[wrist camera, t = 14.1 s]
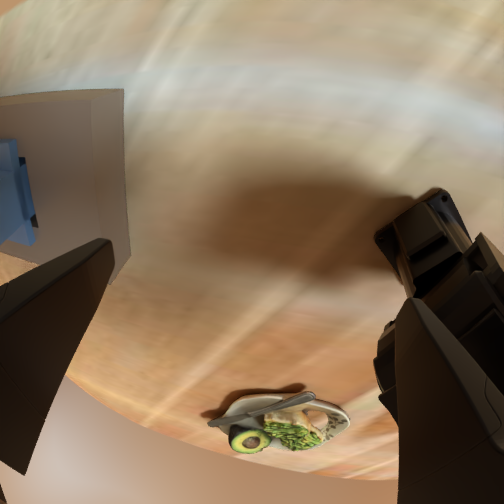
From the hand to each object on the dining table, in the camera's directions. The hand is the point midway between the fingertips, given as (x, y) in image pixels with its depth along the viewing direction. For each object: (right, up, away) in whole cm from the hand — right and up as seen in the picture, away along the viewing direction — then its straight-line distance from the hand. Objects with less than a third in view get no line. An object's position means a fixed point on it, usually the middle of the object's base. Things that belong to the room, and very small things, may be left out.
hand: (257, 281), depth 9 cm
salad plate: (+4, -22, +32) cm, 39 cm away
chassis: (-18, +8, +14) cm, 24 cm away
